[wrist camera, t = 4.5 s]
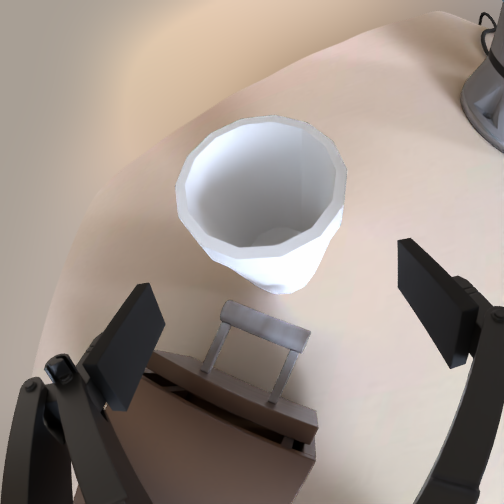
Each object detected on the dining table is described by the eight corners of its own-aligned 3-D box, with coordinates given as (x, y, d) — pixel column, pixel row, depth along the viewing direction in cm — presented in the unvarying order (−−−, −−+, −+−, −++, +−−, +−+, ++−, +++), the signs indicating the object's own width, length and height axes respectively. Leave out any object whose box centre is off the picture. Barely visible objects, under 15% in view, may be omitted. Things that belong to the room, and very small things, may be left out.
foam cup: (213, 285, 29) (145, 221, 17) (256, 202, 31) (223, 105, 19) (309, 328, 26) (308, 289, 14) (348, 234, 28) (367, 139, 16)
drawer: (216, 301, 27) (181, 273, 20) (341, 350, 24) (355, 340, 17) (137, 476, 22) (87, 497, 15) (248, 534, 18) (226, 579, 11)
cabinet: (181, 370, 26) (122, 365, 17) (314, 429, 22) (316, 460, 14) (129, 489, 22) (67, 516, 13) (244, 550, 18) (216, 606, 10)
